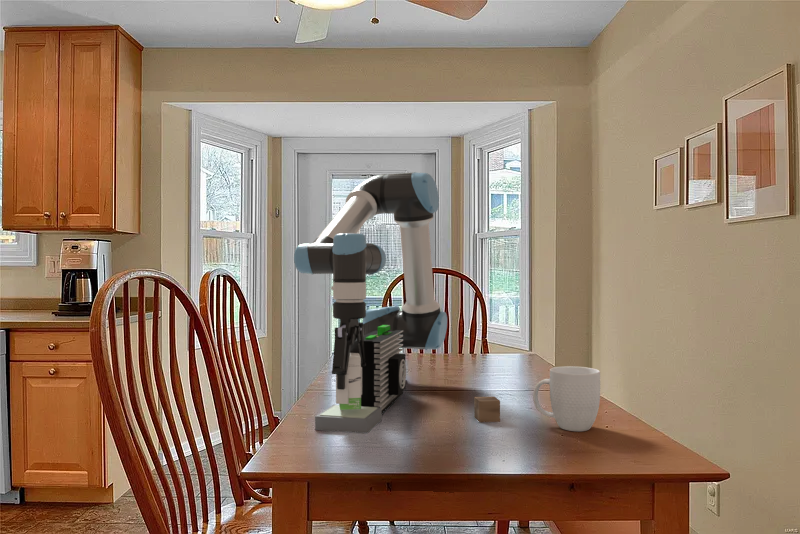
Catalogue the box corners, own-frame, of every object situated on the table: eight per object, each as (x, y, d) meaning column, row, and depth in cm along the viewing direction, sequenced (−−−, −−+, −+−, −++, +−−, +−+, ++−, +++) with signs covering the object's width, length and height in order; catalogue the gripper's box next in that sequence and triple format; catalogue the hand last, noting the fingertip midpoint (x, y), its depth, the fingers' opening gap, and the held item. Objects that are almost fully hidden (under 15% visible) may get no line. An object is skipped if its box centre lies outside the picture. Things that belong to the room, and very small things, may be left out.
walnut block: (474, 417, 157) (474, 396, 157) (494, 417, 158) (494, 396, 158) (479, 422, 152) (479, 401, 152) (500, 422, 153) (500, 400, 153)
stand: (333, 417, 157) (333, 404, 157) (381, 420, 154) (381, 406, 154) (315, 429, 145) (315, 415, 145) (366, 433, 142) (366, 418, 142)
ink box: (361, 409, 146) (361, 357, 146) (339, 410, 145) (339, 357, 145) (359, 401, 154) (359, 351, 154) (338, 402, 154) (338, 352, 153)
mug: (527, 429, 146) (527, 370, 146) (538, 418, 156) (538, 363, 156) (596, 436, 140) (596, 375, 140) (603, 424, 150) (603, 368, 150)
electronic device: (392, 417, 158) (392, 334, 157) (348, 414, 160) (348, 333, 160) (413, 394, 185) (413, 323, 185) (376, 392, 187) (376, 322, 187)
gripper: (349, 298, 161) (349, 388, 161) (316, 303, 140) (316, 408, 140) (378, 298, 159) (378, 390, 159) (349, 304, 138) (350, 410, 138)
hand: (349, 398), depth 150 cm, fingers closed on ink box, 9 cm apart
